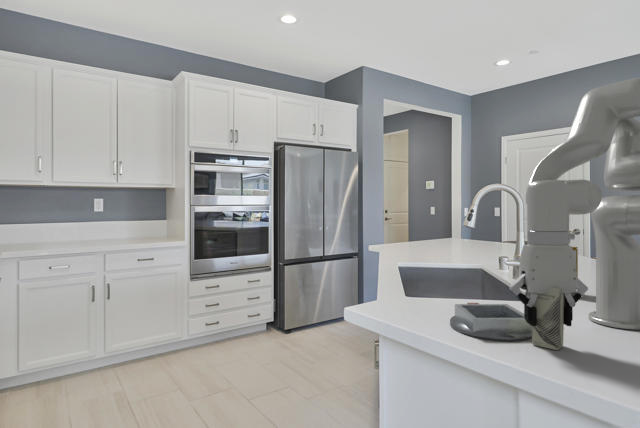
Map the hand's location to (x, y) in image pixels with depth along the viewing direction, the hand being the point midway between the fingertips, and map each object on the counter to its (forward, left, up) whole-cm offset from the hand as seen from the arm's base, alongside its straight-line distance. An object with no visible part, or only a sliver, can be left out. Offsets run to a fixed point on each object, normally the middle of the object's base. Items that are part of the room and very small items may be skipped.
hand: (548, 323), depth 80 cm
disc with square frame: (+7, -14, -5) cm, 16 cm away
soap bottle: (-27, -46, -5) cm, 54 cm away
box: (0, 0, -5) cm, 5 cm away
